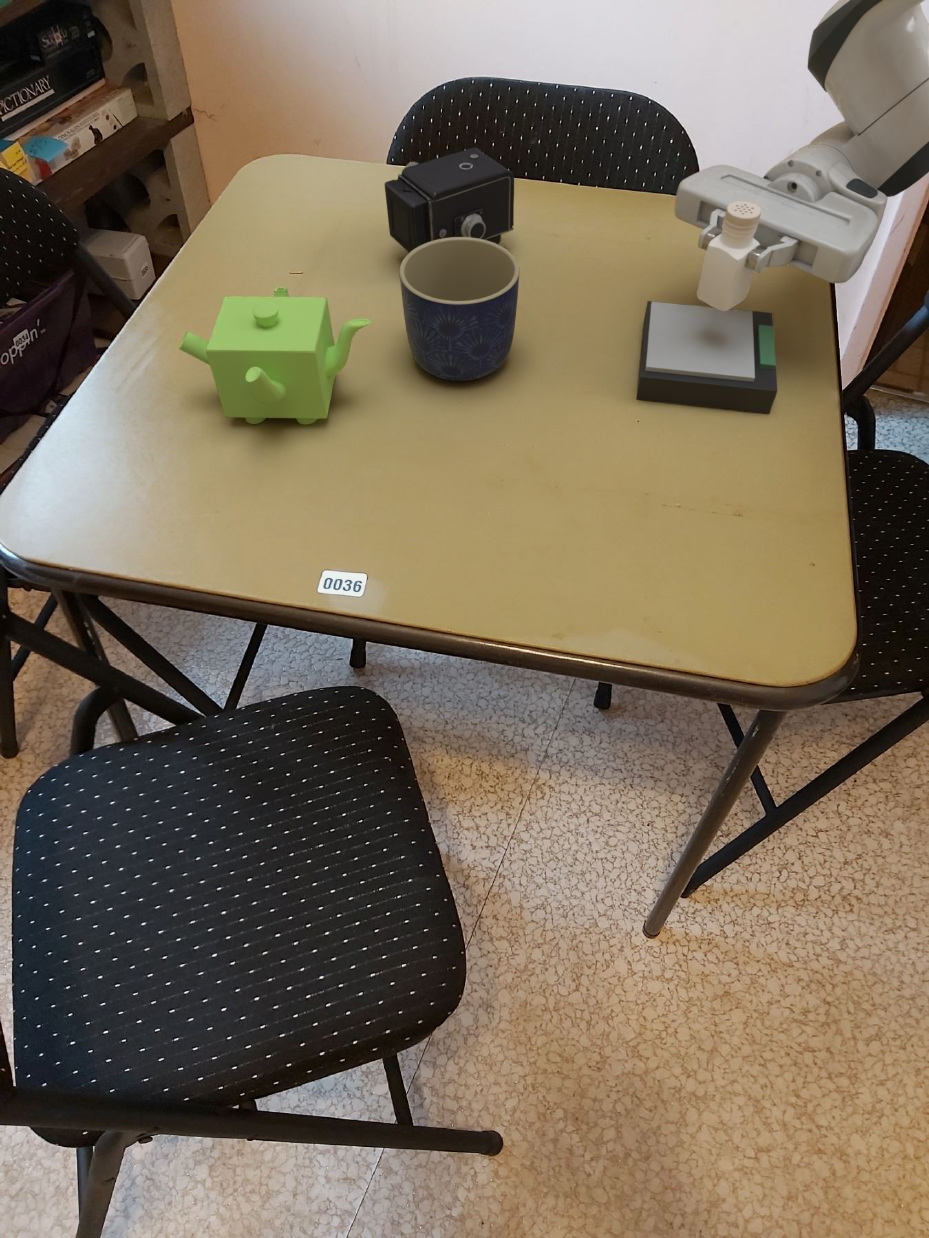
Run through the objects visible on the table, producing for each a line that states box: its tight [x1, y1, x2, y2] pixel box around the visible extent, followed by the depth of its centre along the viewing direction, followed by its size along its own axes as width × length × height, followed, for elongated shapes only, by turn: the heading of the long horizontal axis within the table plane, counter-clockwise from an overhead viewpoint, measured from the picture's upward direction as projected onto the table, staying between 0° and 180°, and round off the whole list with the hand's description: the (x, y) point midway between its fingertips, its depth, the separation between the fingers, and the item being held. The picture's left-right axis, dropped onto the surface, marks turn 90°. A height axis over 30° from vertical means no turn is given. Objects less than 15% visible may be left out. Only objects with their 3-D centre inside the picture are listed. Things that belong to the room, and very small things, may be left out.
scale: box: [636, 300, 778, 415], centre depth 92 cm, size 14×14×4 cm
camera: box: [383, 147, 515, 254], centre depth 103 cm, size 11×11×15 cm
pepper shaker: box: [696, 201, 761, 311], centre depth 83 cm, size 4×4×10 cm
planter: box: [398, 237, 521, 382], centre depth 90 cm, size 12×12×11 cm
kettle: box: [178, 286, 372, 425], centre depth 86 cm, size 15×14×11 cm
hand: (729, 253), depth 82 cm, fingers closed on pepper shaker, 4 cm apart
